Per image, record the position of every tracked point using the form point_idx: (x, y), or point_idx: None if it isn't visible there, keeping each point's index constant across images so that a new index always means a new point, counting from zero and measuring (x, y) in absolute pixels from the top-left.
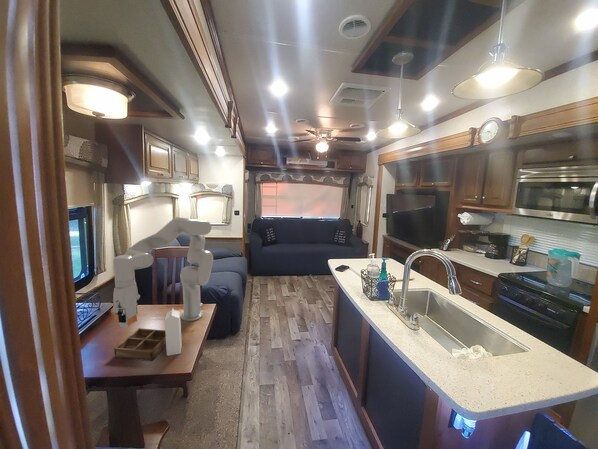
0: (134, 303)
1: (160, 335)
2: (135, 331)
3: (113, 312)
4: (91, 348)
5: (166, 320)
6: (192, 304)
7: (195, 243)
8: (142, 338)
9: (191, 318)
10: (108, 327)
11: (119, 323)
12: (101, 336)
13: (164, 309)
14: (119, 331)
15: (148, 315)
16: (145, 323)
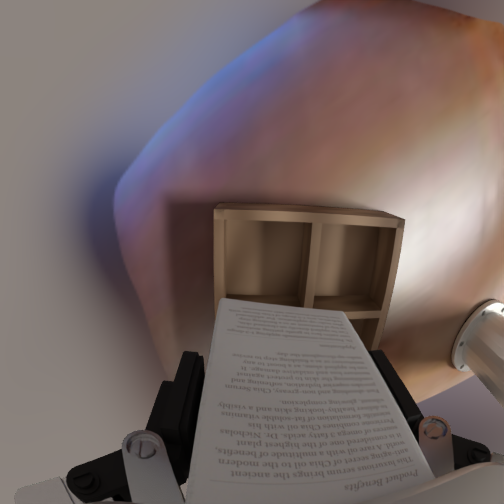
0: None
1: (365, 327)
2: (376, 219)
3: (35, 486)
4: (267, 48)
5: None
6: (491, 389)
7: None
8: (355, 250)
9: (460, 354)
10: (414, 34)
11: (217, 315)
12: (356, 36)
13: None
14: (403, 91)
15: (501, 161)
16: (462, 179)
